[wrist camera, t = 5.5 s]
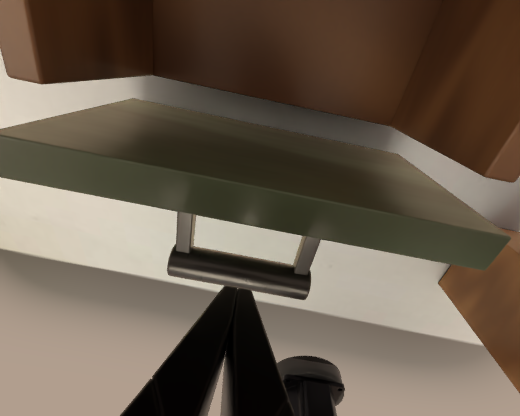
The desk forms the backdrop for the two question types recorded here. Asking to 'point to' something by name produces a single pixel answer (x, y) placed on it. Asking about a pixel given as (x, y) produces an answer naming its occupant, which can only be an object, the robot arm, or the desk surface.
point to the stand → (492, 304)
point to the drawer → (272, 139)
